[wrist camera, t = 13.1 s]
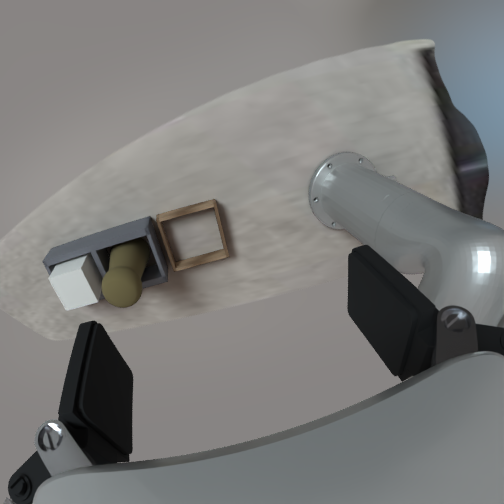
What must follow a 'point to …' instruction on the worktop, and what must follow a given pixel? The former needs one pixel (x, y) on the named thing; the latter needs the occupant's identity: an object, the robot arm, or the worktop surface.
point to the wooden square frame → (198, 259)
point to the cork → (125, 272)
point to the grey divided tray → (108, 238)
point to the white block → (77, 281)
